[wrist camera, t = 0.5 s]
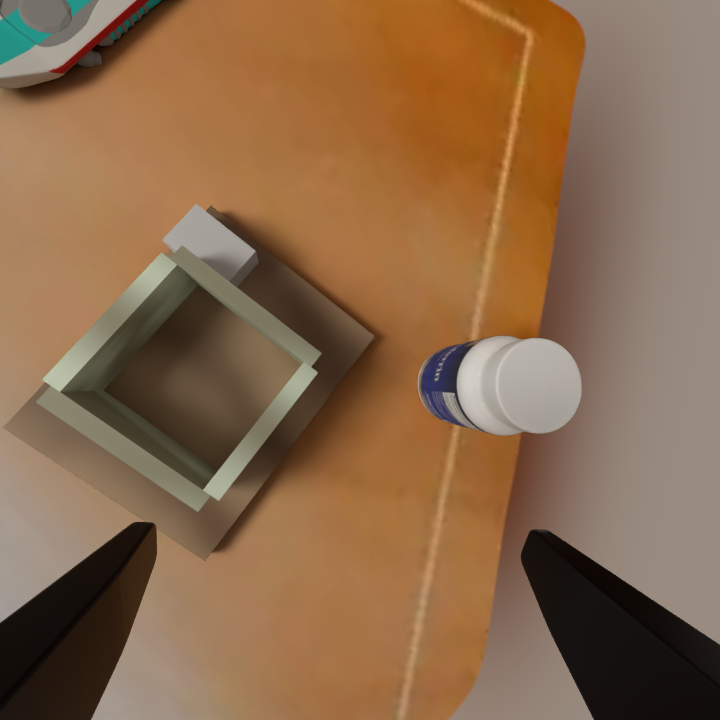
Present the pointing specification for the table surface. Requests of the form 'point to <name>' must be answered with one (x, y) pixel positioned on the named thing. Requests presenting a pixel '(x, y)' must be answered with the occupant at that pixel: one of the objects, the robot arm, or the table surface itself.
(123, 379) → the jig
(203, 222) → the block
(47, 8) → the toy spaceship
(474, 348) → the pill bottle
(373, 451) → the table surface
